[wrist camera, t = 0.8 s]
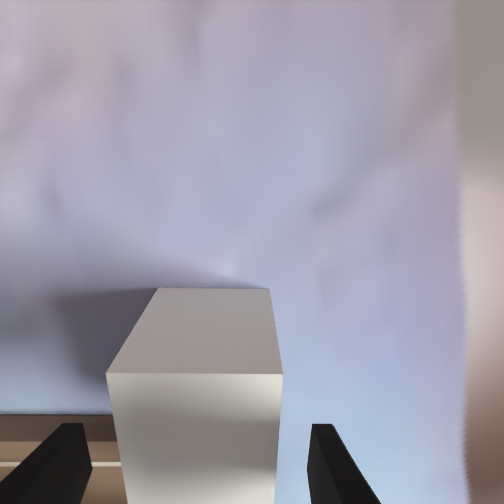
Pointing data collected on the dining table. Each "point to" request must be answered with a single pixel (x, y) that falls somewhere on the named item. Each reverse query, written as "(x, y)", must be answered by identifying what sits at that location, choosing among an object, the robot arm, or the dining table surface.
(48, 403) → the dining table surface
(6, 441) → the walnut board
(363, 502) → the robot arm
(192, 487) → the block
